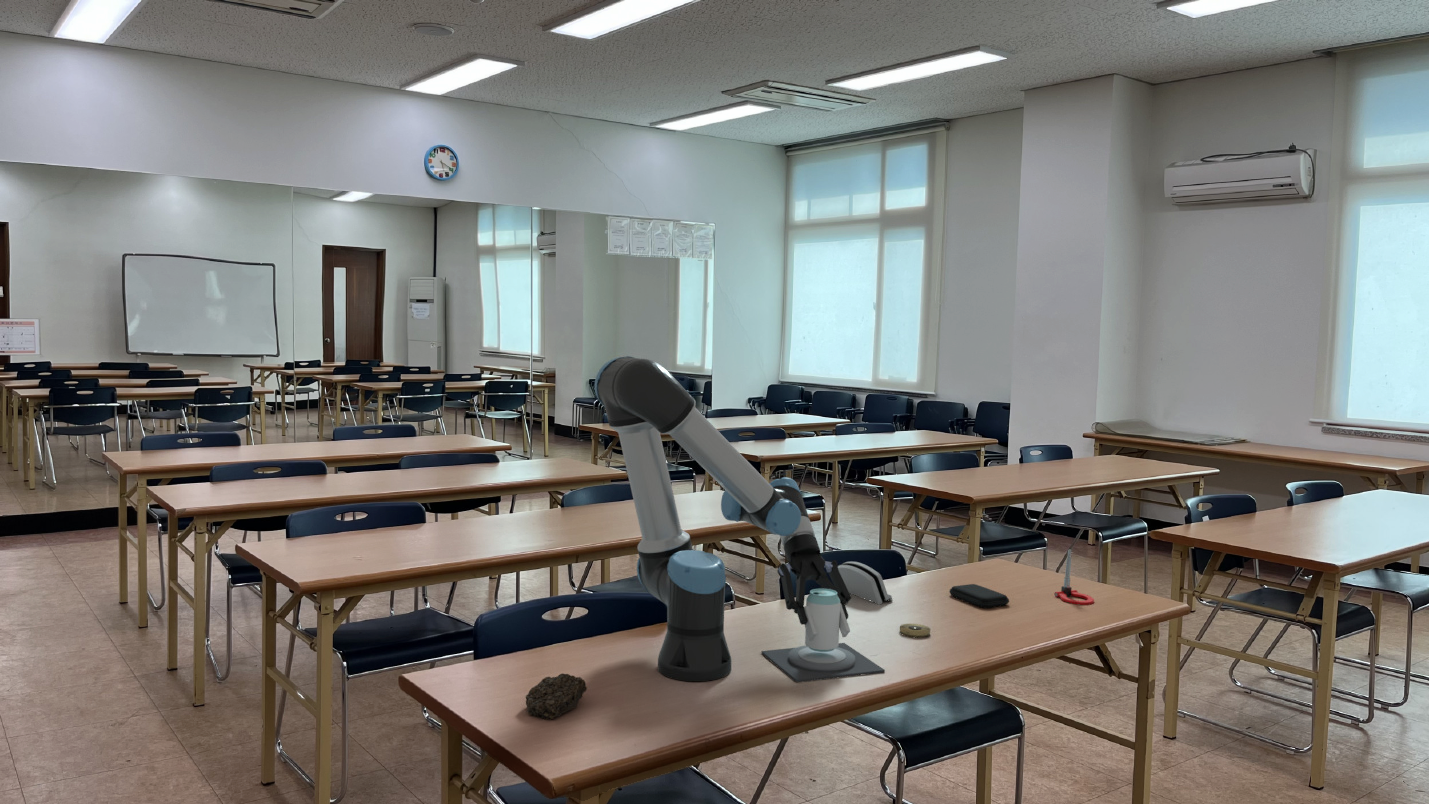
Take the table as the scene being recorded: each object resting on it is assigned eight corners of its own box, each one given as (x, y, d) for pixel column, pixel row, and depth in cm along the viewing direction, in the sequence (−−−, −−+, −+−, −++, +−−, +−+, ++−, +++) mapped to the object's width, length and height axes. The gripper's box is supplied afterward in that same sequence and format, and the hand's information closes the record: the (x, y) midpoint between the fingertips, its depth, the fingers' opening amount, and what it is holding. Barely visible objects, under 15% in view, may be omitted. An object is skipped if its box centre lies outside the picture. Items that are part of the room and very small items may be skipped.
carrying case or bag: (1015, 606, 255) (976, 592, 268) (1016, 595, 255) (977, 581, 268) (983, 611, 250) (945, 596, 263) (984, 599, 250) (946, 585, 263)
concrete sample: (558, 692, 189) (558, 666, 188) (595, 706, 183) (595, 679, 182) (510, 709, 180) (511, 682, 180) (548, 724, 174) (548, 696, 173)
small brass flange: (909, 638, 225) (909, 633, 225) (893, 629, 232) (894, 624, 232) (936, 636, 228) (936, 630, 228) (919, 627, 234) (920, 621, 234)
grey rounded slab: (893, 601, 256) (885, 567, 253) (880, 610, 253) (871, 575, 251) (852, 586, 270) (843, 554, 267) (839, 594, 267) (830, 561, 265)
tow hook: (1100, 605, 259) (1076, 594, 267) (1104, 557, 257) (1080, 547, 266) (1074, 607, 256) (1051, 596, 264) (1078, 559, 254) (1054, 549, 263)
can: (824, 655, 203) (826, 598, 202) (798, 647, 208) (799, 591, 207) (845, 647, 208) (847, 592, 207) (818, 639, 213) (820, 585, 212)
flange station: (796, 682, 196) (796, 673, 196) (761, 653, 213) (761, 645, 213) (884, 672, 203) (885, 663, 203) (844, 644, 220) (844, 636, 220)
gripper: (833, 548, 224) (865, 639, 211) (752, 553, 218) (780, 648, 204) (845, 529, 219) (879, 622, 205) (762, 534, 212) (791, 630, 198)
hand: (829, 635), depth 205 cm, fingers closed on can, 7 cm apart
